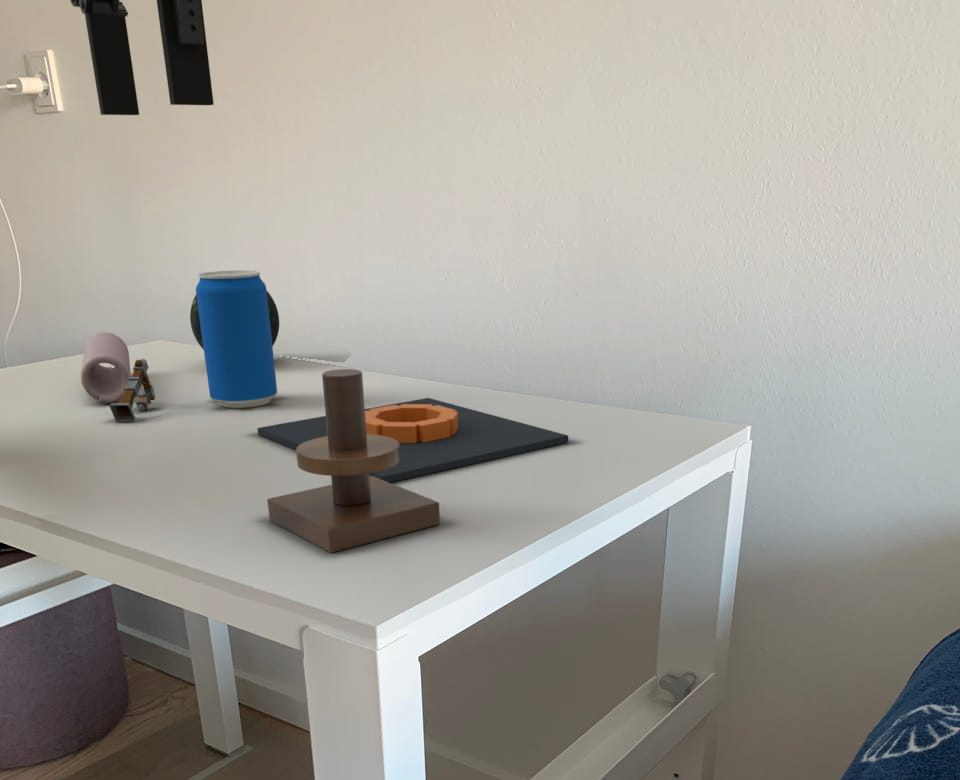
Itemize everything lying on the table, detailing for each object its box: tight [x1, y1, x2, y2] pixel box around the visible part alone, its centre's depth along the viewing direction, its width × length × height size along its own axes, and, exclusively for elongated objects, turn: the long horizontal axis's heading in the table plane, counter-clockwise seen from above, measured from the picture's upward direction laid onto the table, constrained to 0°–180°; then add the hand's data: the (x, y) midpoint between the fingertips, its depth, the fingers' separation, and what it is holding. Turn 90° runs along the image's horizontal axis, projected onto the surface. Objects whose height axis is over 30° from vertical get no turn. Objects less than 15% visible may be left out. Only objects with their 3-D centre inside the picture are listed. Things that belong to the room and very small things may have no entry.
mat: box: [256, 397, 569, 484], centre depth 84 cm, size 20×18×1 cm
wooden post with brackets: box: [108, 358, 156, 422], centre depth 95 cm, size 2×8×4 cm, turn 177°
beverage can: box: [195, 269, 278, 409], centre depth 96 cm, size 6×6×12 cm
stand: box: [267, 368, 441, 554], centre depth 62 cm, size 8×8×10 cm
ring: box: [365, 404, 458, 443], centre depth 84 cm, size 8×8×1 cm
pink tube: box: [80, 331, 132, 405], centre depth 106 cm, size 5×5×18 cm
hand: (153, 110), depth 71 cm, fingers open, 13 cm apart
